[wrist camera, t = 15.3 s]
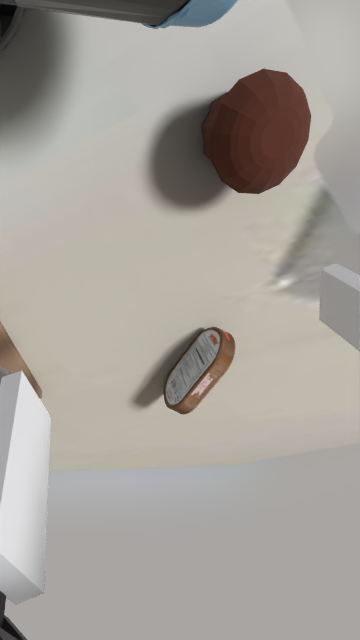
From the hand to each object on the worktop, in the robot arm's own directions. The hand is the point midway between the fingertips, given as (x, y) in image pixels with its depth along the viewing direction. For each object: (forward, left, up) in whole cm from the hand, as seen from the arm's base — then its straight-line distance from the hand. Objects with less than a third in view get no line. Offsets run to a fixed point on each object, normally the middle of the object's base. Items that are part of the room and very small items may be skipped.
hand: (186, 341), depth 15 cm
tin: (+27, +5, -32) cm, 42 cm away
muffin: (-3, +17, -32) cm, 36 cm away
